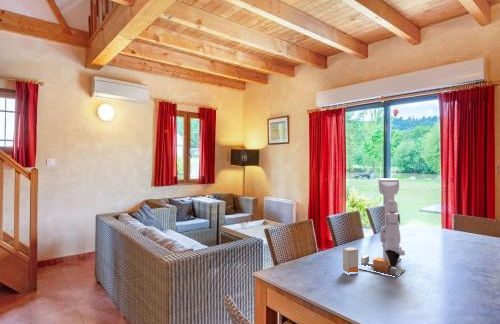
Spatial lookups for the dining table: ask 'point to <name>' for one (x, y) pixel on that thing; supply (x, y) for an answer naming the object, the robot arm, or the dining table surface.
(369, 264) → the plate
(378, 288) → the dining table surface
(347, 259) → the skincare box
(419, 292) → the dining table surface
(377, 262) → the lock block
